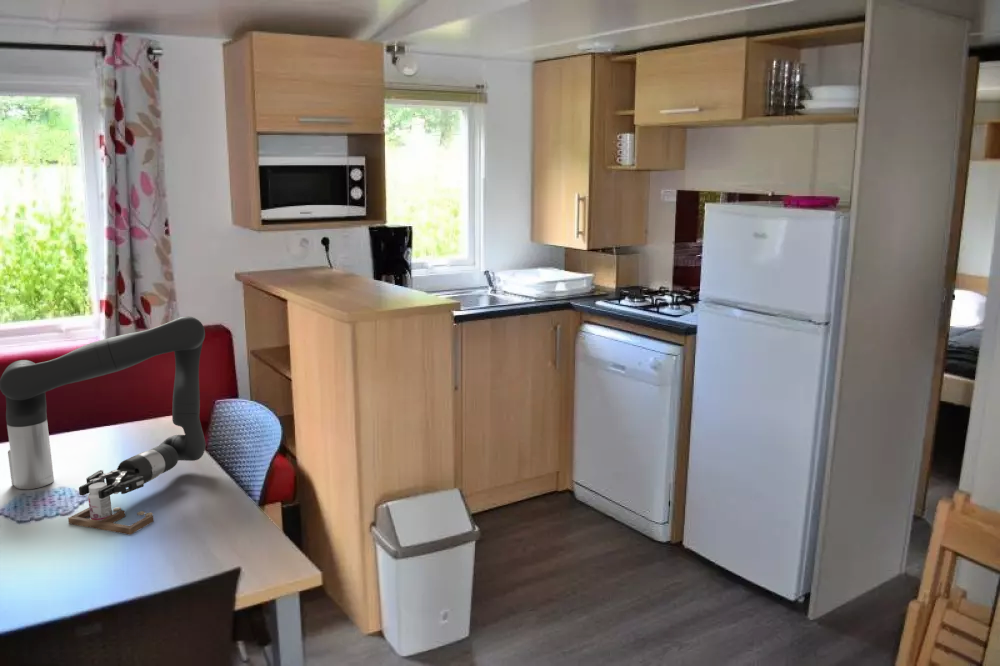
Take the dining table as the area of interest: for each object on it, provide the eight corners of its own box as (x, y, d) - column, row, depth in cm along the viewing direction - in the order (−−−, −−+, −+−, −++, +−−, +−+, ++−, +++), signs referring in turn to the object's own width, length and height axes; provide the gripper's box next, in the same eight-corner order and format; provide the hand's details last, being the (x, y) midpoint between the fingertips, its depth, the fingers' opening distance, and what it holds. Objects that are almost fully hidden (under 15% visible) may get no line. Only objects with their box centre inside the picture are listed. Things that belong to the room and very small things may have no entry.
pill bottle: (86, 519, 197) (82, 486, 196) (103, 512, 201) (100, 480, 200) (99, 523, 195) (95, 490, 194) (116, 516, 199) (113, 483, 198)
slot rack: (68, 523, 195) (68, 517, 195) (104, 505, 205) (103, 500, 205) (130, 534, 189) (129, 528, 189) (163, 515, 199) (163, 510, 199)
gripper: (118, 451, 211) (64, 474, 196) (163, 457, 207) (112, 482, 191) (120, 478, 213) (68, 504, 197) (166, 485, 208) (115, 512, 193)
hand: (90, 493), depth 194 cm, fingers open, 5 cm apart
